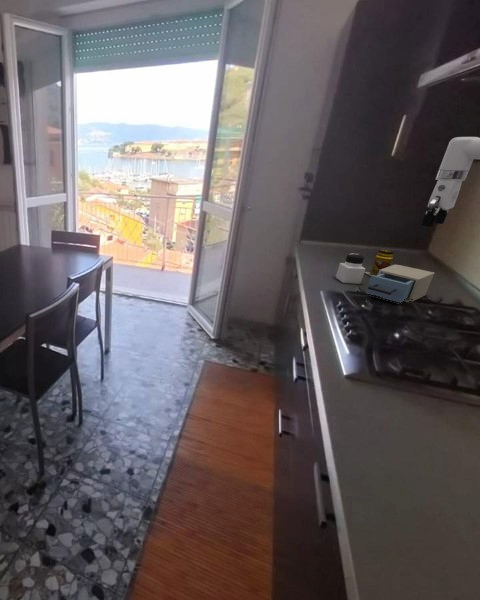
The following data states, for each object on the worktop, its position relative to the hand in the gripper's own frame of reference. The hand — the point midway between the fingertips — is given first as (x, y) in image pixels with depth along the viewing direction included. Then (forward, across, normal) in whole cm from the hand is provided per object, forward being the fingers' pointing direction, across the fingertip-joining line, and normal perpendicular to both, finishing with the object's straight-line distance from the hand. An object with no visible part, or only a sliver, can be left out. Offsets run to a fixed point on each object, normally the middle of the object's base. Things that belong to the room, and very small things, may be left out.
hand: (432, 224), depth 131 cm
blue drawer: (+27, -11, +2) cm, 30 cm away
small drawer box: (+28, 0, +2) cm, 28 cm away
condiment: (+28, +19, +17) cm, 38 cm away
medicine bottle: (+28, -1, +20) cm, 35 cm away
